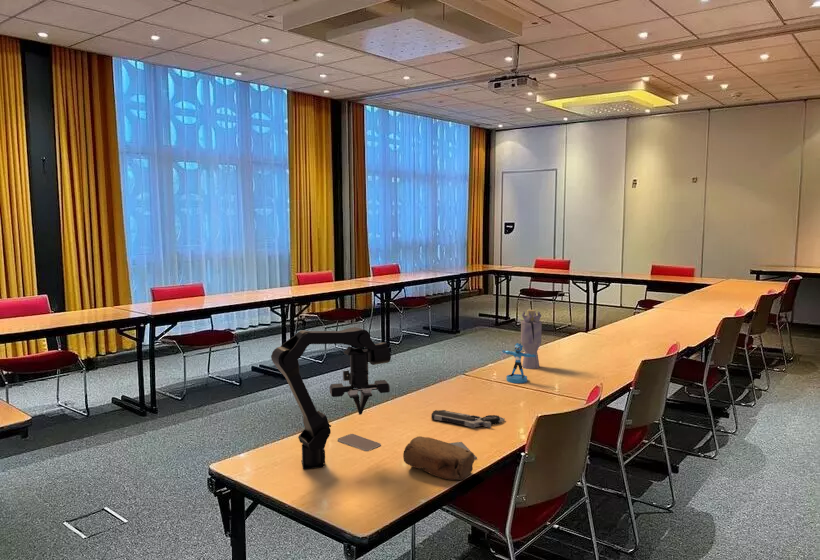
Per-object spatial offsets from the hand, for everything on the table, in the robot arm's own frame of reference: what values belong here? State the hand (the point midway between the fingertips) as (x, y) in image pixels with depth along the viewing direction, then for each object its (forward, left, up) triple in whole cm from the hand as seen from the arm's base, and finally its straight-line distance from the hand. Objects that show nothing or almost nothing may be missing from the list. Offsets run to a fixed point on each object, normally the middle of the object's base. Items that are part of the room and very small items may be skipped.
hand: (360, 414), depth 191 cm
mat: (+25, -8, -13) cm, 29 cm away
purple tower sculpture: (+105, +89, -13) cm, 138 cm away
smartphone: (+1, +9, -14) cm, 16 cm away
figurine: (+87, +66, -13) cm, 110 cm away
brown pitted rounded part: (+13, -12, -9) cm, 20 cm away
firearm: (+44, +20, -14) cm, 51 cm away
